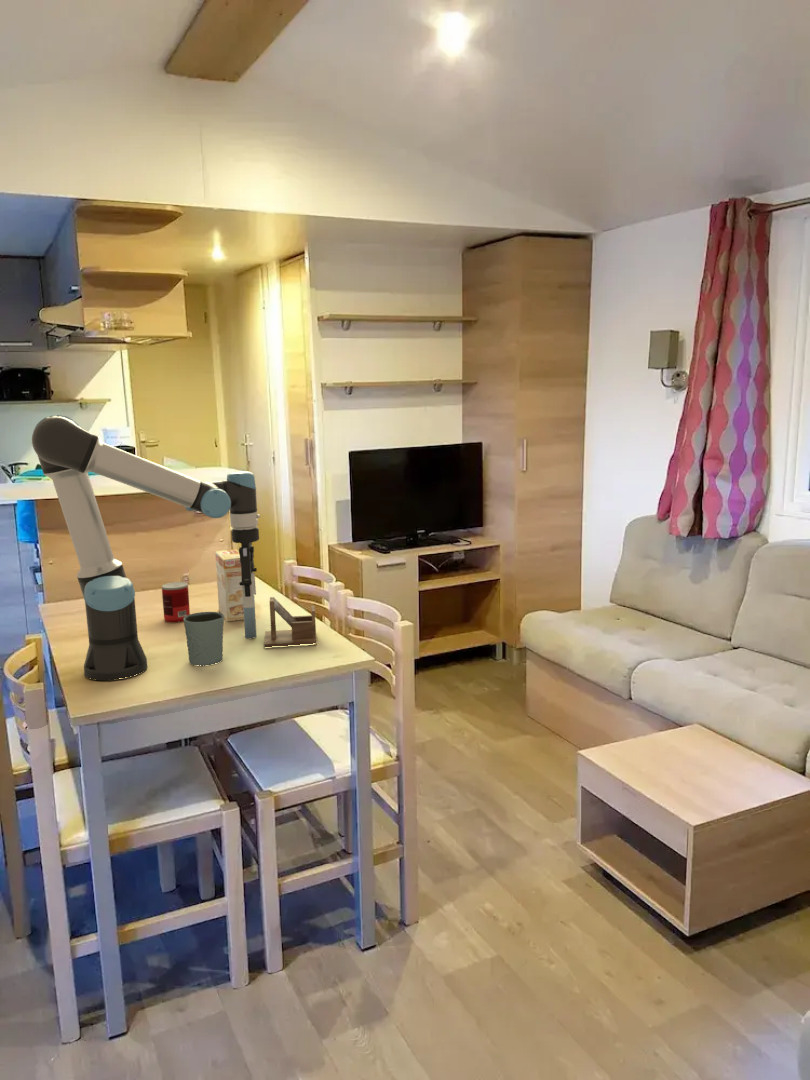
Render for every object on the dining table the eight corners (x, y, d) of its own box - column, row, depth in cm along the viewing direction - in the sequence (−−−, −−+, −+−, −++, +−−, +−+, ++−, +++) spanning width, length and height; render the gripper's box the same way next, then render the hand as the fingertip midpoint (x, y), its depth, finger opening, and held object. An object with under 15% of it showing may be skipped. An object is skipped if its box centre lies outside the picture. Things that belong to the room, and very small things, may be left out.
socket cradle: (316, 645, 223) (314, 602, 221) (264, 648, 221) (262, 605, 219) (315, 632, 235) (313, 591, 232) (265, 635, 233) (263, 594, 231)
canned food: (193, 615, 254) (191, 581, 252) (184, 623, 246) (182, 588, 244) (170, 615, 255) (167, 581, 253) (160, 622, 247) (157, 587, 245)
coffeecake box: (249, 619, 249) (246, 557, 246) (226, 622, 247) (222, 559, 243) (240, 607, 263) (236, 548, 259) (218, 610, 260) (214, 550, 257)
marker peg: (256, 638, 231) (254, 597, 228) (244, 638, 230) (242, 597, 228) (256, 634, 234) (254, 594, 231) (245, 635, 233) (243, 595, 231)
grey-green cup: (180, 666, 208) (177, 621, 206) (195, 653, 218) (192, 610, 216) (218, 667, 207) (215, 622, 205) (231, 654, 217) (229, 611, 214)
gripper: (256, 534, 214) (261, 611, 218) (260, 519, 238) (264, 588, 243) (227, 536, 213) (233, 613, 217) (234, 520, 237) (239, 590, 242)
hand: (250, 600), depth 230 cm, fingers open, 13 cm apart
